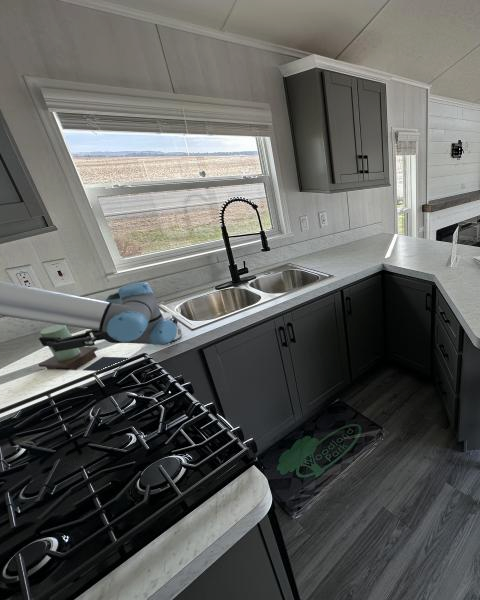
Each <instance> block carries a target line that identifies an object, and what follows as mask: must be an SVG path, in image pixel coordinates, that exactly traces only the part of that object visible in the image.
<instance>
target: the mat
mask: <svg viewBox="0 0 480 600" xmlns="http://www.w3.org/2000/svg"><path fill="white" fill-rule="evenodd" d="M128 358H129V357H122V356H121V357H119V356H102V357H100V358H99V359H97V360H95V361H94V362H93V363H91V364H89V365H88V366H86V367H85V368H83V369H82V371H85V372H88V371H89V372H99V371H98V370H101V369H103V368H105V367H108V366H111V365H113V364H115V363H118V362H121V361H123V360H126V359H128Z"/></svg>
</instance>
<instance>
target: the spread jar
mask: <svg viewBox="0 0 480 600" xmlns="http://www.w3.org/2000/svg"><path fill="white" fill-rule="evenodd" d="M161 314H162V316H163V318H164V319H166V320H171V321H172V322H174V323H175V324H176V327H177V334H176V337H175V338H174V340H172V341H171V342H170V344H173V343H172V342H174V343H176V342H178V341H179V340H180V339H181V337H182V328H181V325H180V322H179V321H178V319H177V318H176V317H174V316H173V315H172V313H171V312H161ZM177 340H178V341H177ZM175 341H176V342H175ZM166 345H169V344H168V343H167V344H166Z"/></svg>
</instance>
